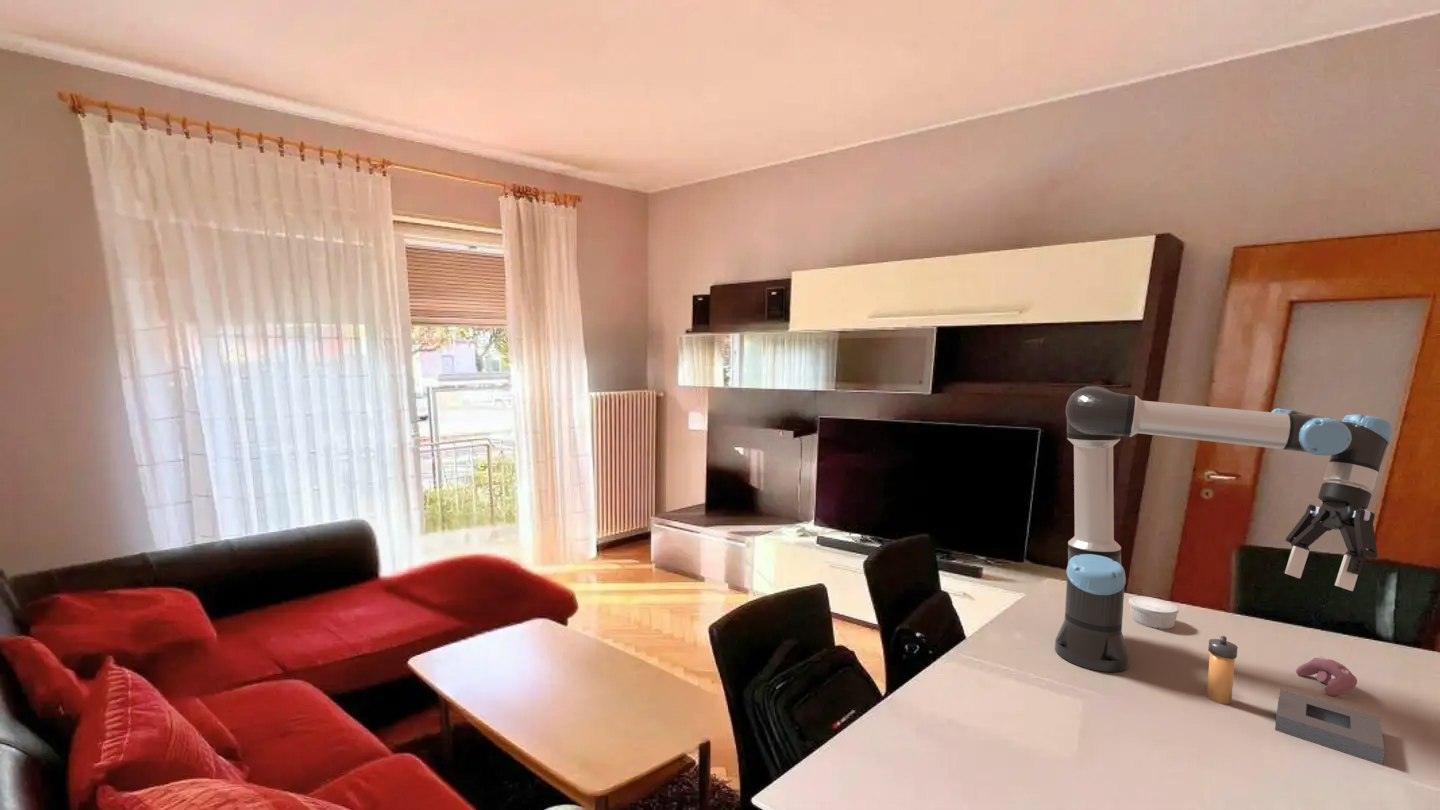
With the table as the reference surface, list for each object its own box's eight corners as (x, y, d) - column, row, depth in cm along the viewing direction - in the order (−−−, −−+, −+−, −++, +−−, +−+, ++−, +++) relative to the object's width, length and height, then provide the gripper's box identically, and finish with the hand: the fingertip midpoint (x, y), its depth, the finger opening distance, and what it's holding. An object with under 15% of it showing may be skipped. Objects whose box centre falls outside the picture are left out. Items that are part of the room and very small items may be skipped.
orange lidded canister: (1203, 698, 127) (1208, 635, 126) (1206, 690, 130) (1211, 629, 129) (1231, 707, 123) (1236, 643, 122) (1234, 699, 126) (1239, 636, 126)
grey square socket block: (1275, 729, 116) (1276, 714, 116) (1279, 702, 126) (1280, 688, 126) (1382, 765, 106) (1384, 748, 106) (1378, 732, 116) (1379, 717, 116)
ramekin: (1132, 626, 162) (1134, 607, 162) (1123, 611, 173) (1124, 593, 172) (1183, 634, 158) (1184, 615, 158) (1170, 618, 168) (1171, 600, 168)
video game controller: (1347, 705, 128) (1367, 679, 127) (1325, 694, 128) (1345, 667, 127) (1311, 682, 137) (1330, 657, 136) (1291, 671, 138) (1309, 646, 137)
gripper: (1424, 496, 115) (1391, 601, 114) (1319, 490, 139) (1291, 577, 138) (1379, 482, 116) (1346, 586, 115) (1283, 479, 141) (1255, 565, 140)
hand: (1316, 581), depth 127 cm, fingers open, 13 cm apart
